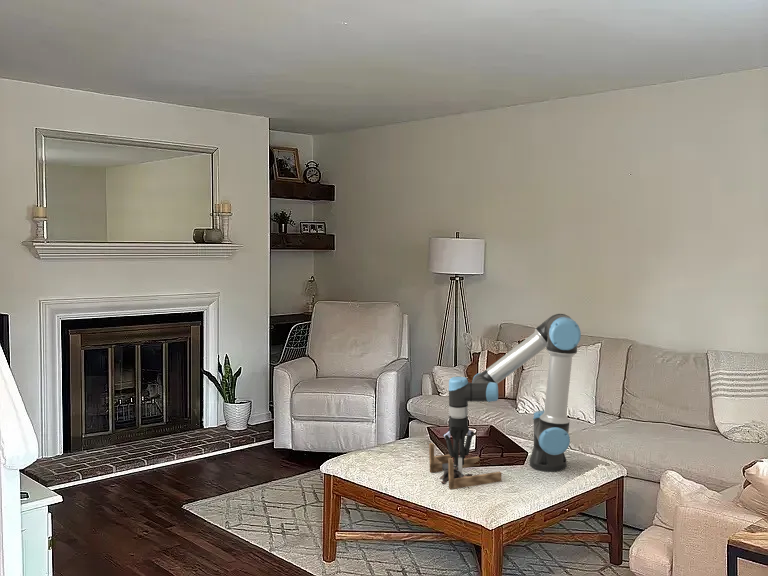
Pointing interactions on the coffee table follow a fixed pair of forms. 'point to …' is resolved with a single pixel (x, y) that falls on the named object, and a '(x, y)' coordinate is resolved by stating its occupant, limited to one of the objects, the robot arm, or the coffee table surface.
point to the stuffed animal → (456, 475)
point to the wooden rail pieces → (468, 462)
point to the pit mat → (445, 466)
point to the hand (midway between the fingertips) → (459, 472)
